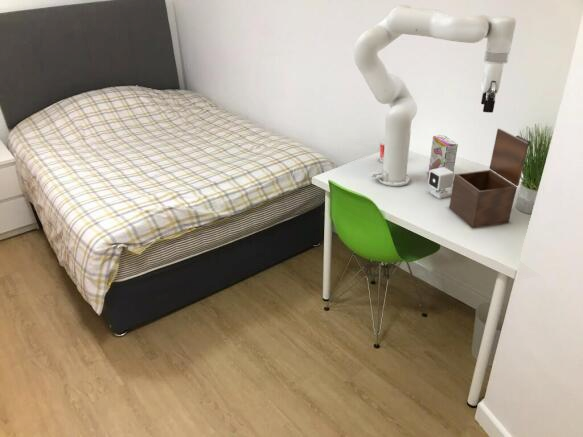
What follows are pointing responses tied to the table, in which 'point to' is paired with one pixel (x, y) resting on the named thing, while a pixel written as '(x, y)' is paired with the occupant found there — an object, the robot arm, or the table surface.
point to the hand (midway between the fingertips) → (486, 108)
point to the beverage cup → (382, 149)
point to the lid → (509, 156)
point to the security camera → (440, 181)
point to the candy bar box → (443, 153)
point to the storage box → (482, 198)
